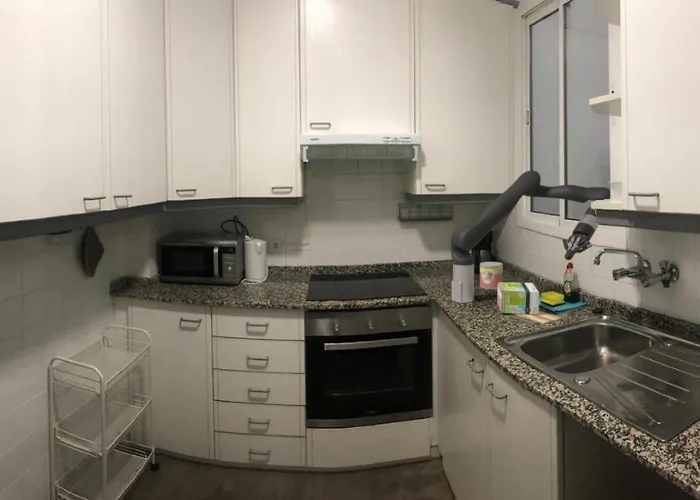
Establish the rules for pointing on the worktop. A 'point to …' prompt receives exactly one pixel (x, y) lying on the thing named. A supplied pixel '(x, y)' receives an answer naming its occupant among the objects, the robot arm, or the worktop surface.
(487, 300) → the worktop surface
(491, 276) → the canned food
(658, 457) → the worktop surface
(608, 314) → the worktop surface
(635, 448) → the worktop surface
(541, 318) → the wooden cutting board
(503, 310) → the tea box
